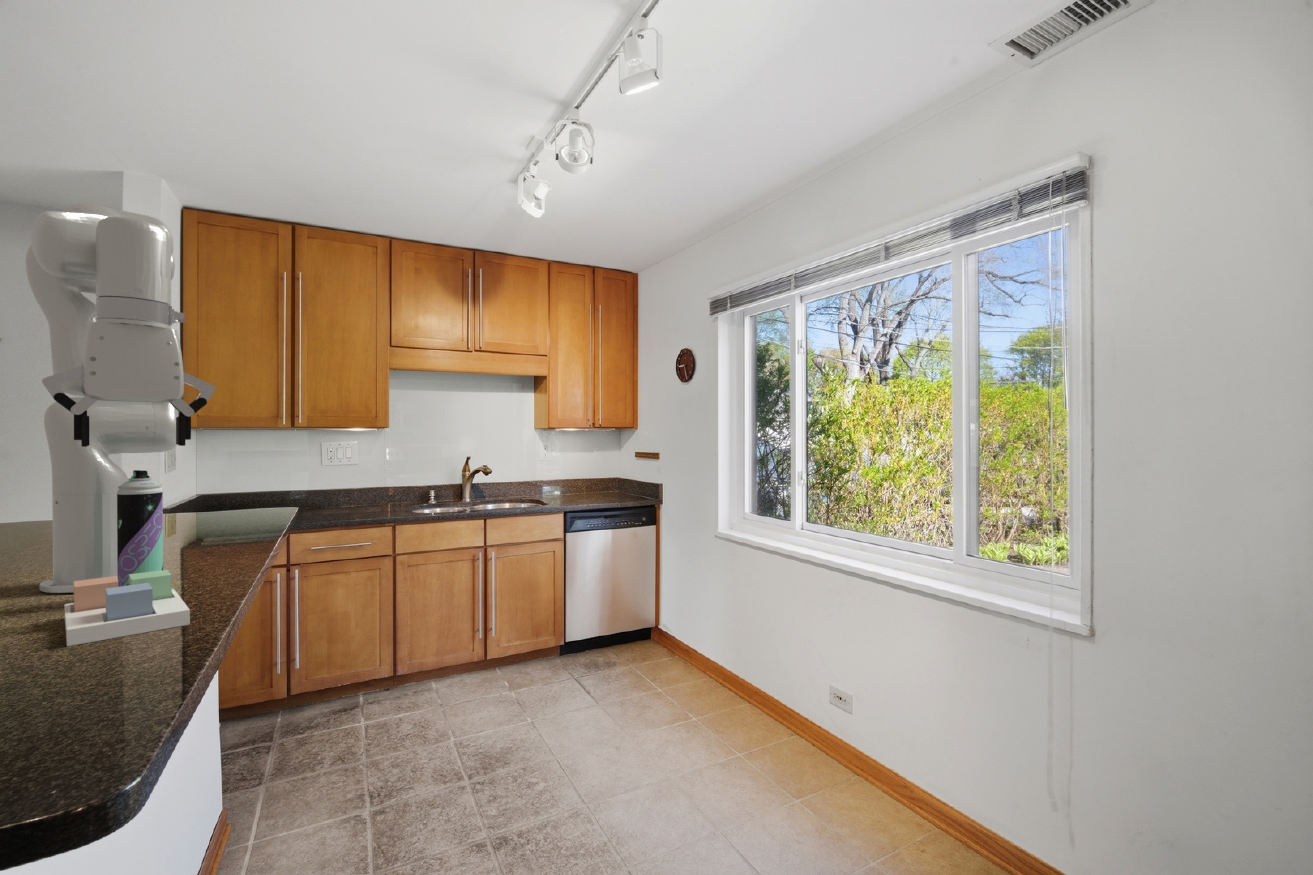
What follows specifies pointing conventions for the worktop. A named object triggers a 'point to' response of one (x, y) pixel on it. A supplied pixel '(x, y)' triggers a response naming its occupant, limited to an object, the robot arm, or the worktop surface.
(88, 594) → the terracotta key
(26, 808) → the worktop surface
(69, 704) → the worktop surface
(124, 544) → the spray can
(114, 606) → the slate key
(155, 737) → the worktop surface
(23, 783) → the worktop surface
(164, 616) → the key console
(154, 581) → the sage key
